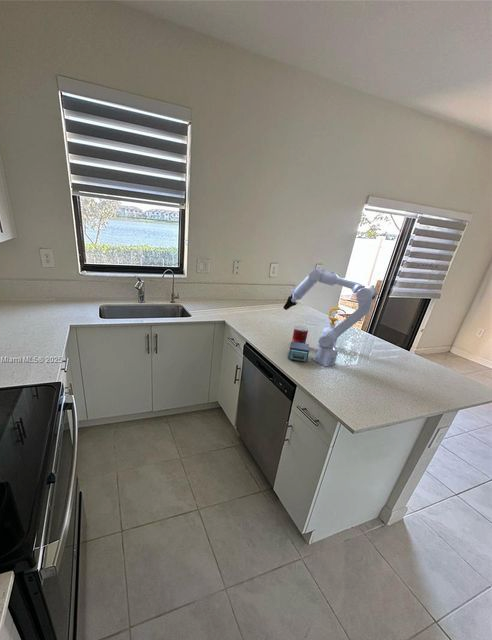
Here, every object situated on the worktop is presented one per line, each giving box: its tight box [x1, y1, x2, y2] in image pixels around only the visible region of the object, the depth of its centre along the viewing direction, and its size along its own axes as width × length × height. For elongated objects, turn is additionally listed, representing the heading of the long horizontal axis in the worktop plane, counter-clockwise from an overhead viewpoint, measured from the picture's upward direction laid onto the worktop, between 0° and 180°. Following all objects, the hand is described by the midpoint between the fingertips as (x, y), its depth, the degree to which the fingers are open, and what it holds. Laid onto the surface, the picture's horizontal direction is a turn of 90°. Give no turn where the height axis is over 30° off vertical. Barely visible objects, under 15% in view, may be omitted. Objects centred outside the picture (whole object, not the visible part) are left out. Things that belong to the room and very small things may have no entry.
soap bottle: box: [320, 306, 341, 350], centre depth 169 cm, size 9×9×25 cm
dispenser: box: [287, 340, 310, 362], centre depth 156 cm, size 10×10×7 cm
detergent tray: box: [289, 349, 309, 362], centre depth 152 cm, size 13×8×5 cm, turn 165°
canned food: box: [291, 325, 309, 344], centre depth 170 cm, size 8×8×11 cm
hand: (286, 306), depth 158 cm, fingers open, 7 cm apart
